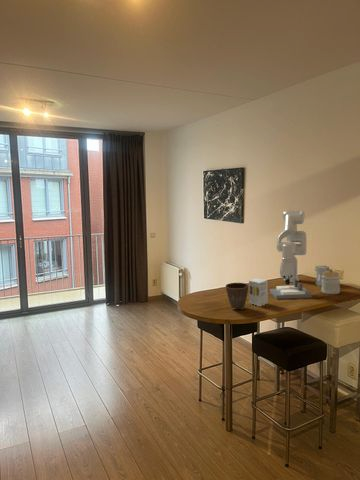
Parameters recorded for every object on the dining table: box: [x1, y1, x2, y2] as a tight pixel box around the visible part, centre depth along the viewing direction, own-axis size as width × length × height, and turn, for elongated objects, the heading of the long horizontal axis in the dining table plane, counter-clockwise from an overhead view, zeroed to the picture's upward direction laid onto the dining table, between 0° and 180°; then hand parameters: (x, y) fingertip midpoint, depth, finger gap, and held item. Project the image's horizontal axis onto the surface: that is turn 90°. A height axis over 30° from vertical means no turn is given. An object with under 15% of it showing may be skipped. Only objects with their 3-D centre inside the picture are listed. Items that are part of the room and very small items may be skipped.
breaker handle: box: [298, 281, 303, 291], centre depth 260 cm, size 4×2×5 cm, turn 1°
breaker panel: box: [269, 285, 313, 300], centre depth 266 cm, size 18×26×5 cm
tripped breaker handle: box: [292, 279, 299, 287], centre depth 270 cm, size 4×2×5 cm, turn 1°
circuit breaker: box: [314, 265, 330, 287], centre depth 287 cm, size 8×14×15 cm, turn 89°
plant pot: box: [225, 282, 249, 310], centre depth 239 cm, size 15×15×16 cm
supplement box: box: [248, 277, 269, 307], centre depth 247 cm, size 10×9×17 cm
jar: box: [320, 268, 341, 295], centre depth 267 cm, size 13×13×18 cm
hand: (287, 284), depth 270 cm, fingers closed
